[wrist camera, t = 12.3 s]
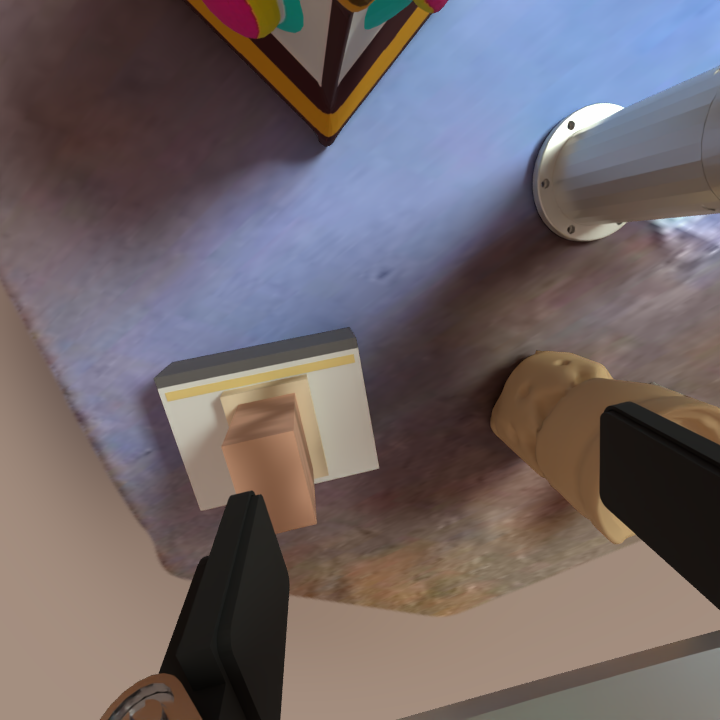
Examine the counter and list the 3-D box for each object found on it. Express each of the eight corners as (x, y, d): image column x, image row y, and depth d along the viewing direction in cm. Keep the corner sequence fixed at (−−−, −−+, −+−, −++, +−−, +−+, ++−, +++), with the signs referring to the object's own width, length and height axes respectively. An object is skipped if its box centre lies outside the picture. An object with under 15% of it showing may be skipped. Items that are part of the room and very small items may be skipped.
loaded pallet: (306, 373, 35) (308, 413, 26) (327, 467, 38) (335, 530, 29) (223, 391, 34) (197, 438, 25) (251, 485, 37) (236, 555, 28)
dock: (349, 327, 39) (356, 337, 34) (370, 444, 43) (379, 468, 39) (172, 362, 37) (153, 378, 33) (212, 481, 42) (200, 511, 37)
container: (583, 426, 47) (744, 524, 30) (489, 456, 46) (601, 575, 29) (575, 331, 44) (755, 382, 26) (474, 362, 43) (591, 435, 25)
